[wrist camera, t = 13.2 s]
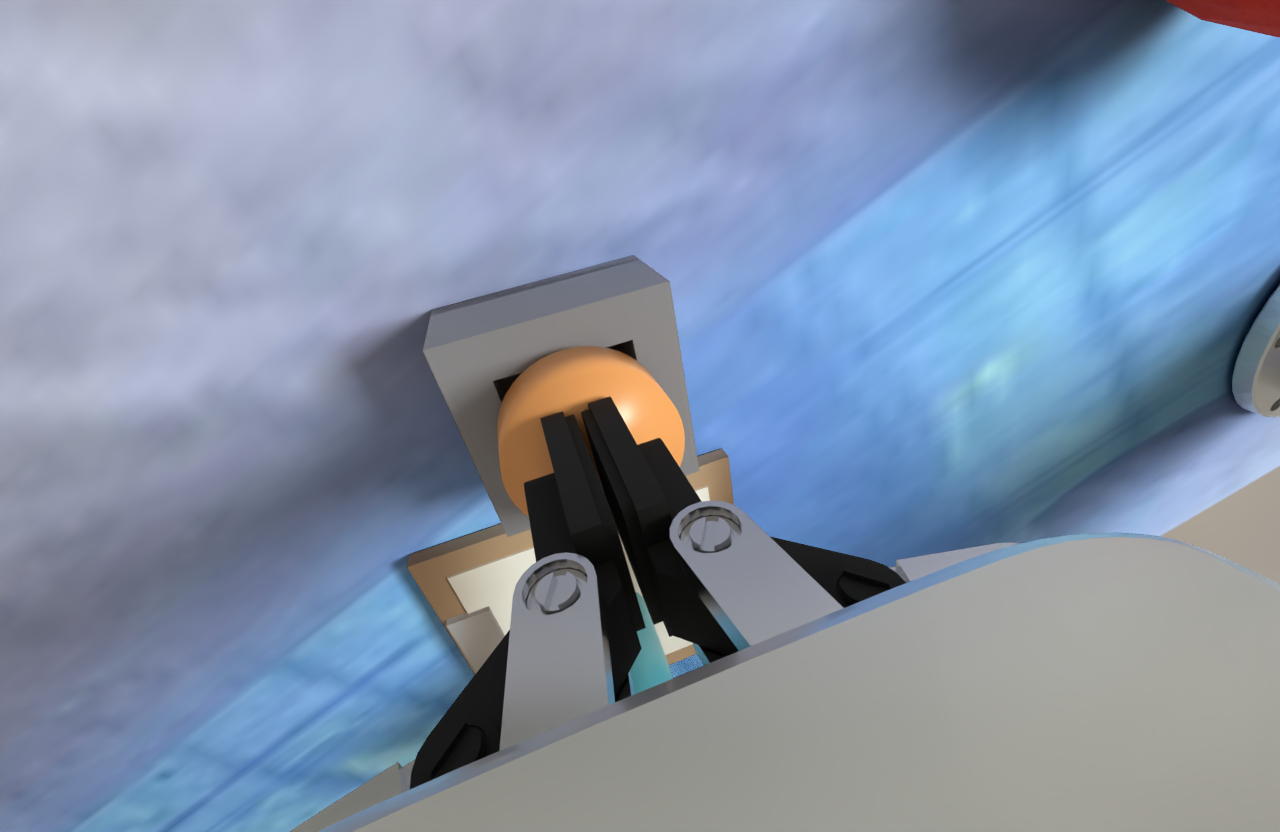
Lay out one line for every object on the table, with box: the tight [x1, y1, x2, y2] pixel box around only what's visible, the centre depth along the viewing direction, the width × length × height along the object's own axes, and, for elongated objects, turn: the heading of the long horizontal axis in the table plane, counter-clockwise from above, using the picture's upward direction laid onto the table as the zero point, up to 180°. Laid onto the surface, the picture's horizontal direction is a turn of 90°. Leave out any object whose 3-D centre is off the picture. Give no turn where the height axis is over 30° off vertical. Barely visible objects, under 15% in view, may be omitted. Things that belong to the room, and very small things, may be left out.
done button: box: [497, 346, 685, 517], centre depth 14 cm, size 4×4×4 cm
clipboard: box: [407, 448, 734, 674], centre depth 21 cm, size 12×11×1 cm
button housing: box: [423, 255, 699, 537], centre depth 15 cm, size 6×6×3 cm
